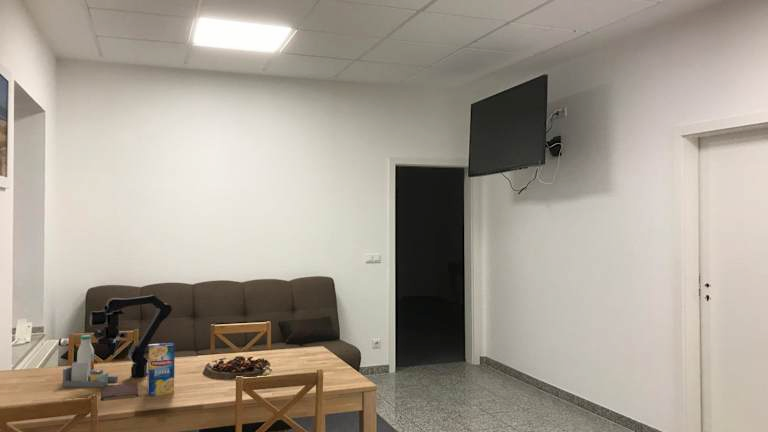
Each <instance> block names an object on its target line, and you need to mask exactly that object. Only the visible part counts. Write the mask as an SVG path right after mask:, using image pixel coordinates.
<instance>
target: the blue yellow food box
mask: <svg viewBox="0 0 768 432" xmlns="http://www.w3.org/2000/svg"><path fill="white" fill-rule="evenodd" d="M175 346H176V345H175V343H174V342H167V343H166V342H162V343H151V344H149V343H148V345H147V360H148V362H147V373H148V375H147V382H146V383H147V385H146V387H147V390H146V391H147V396H148V397H156V396H165V395H166V396H167V395H173V394H175V359H176V358H175V354H176V353H175V352H176V350H175V348H176V347H175Z"/></svg>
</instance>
